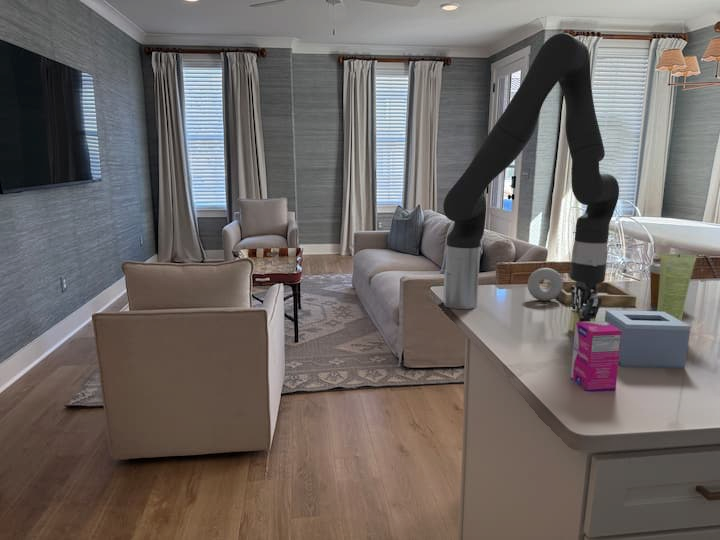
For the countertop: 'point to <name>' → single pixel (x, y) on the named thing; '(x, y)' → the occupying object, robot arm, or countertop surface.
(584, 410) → the countertop surface
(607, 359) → the supplement box
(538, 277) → the donut
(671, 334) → the box
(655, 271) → the disposable coffee cup
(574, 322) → the rectangular block
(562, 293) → the frame
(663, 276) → the tube
